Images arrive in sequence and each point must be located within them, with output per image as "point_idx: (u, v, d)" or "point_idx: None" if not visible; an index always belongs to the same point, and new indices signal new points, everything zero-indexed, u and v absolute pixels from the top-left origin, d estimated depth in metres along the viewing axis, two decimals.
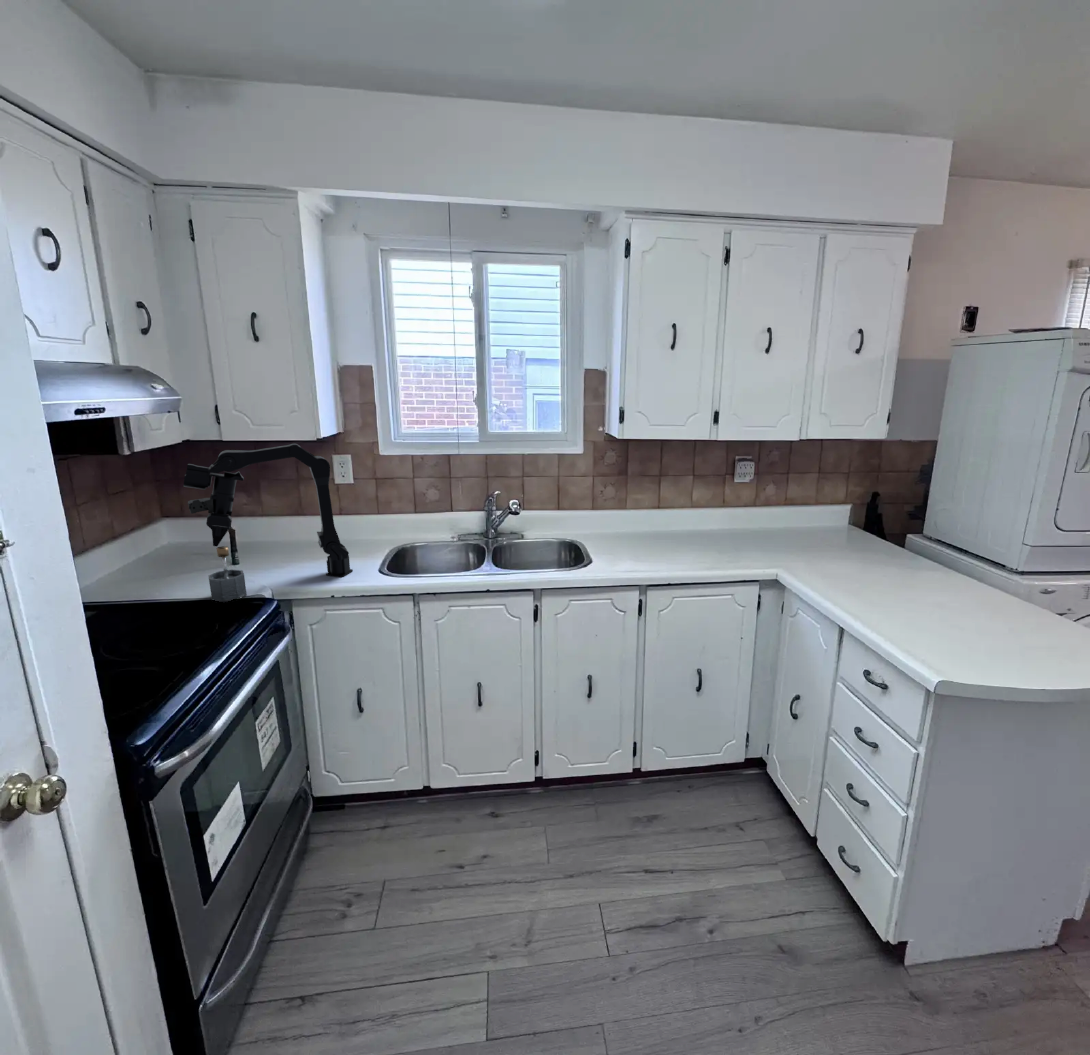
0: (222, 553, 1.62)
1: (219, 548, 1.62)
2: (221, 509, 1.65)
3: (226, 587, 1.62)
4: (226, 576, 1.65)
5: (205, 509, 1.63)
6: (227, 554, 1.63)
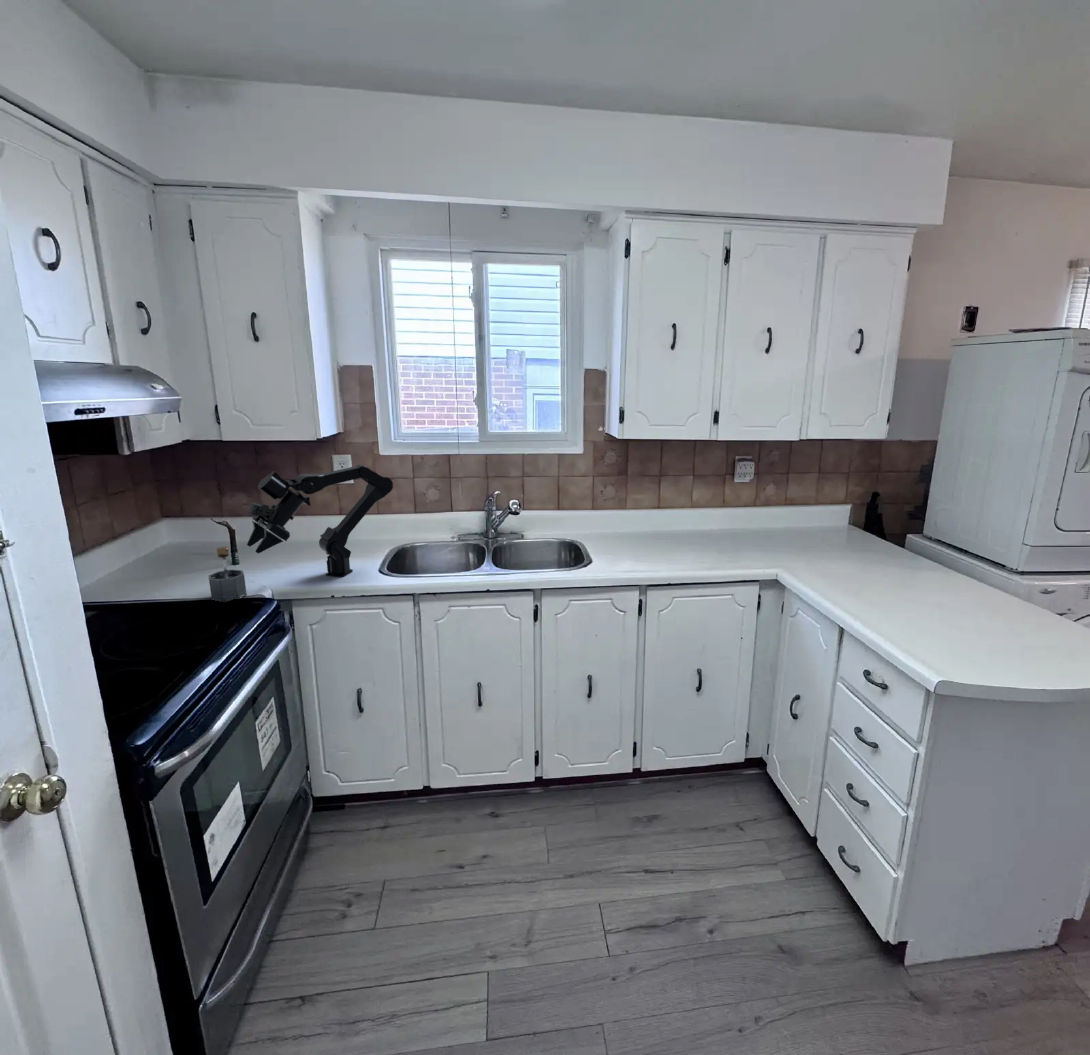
0: (223, 554, 1.62)
1: (219, 548, 1.62)
2: (279, 522, 1.69)
3: (226, 587, 1.62)
4: (226, 576, 1.65)
5: (266, 516, 1.67)
6: (227, 554, 1.63)
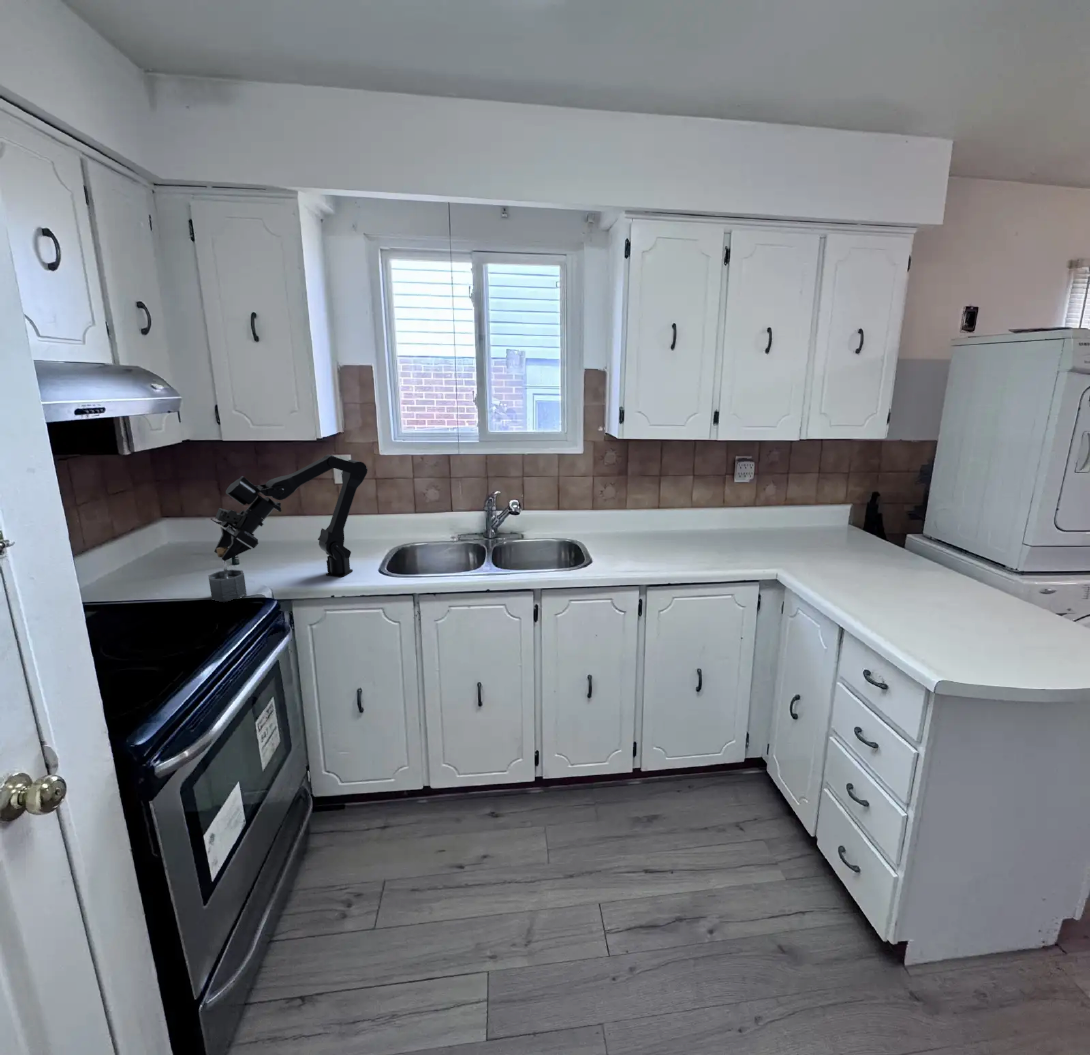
0: (223, 554, 1.62)
1: (219, 548, 1.62)
2: (248, 528, 1.64)
3: (226, 587, 1.62)
4: (226, 576, 1.65)
5: (233, 522, 1.61)
6: None
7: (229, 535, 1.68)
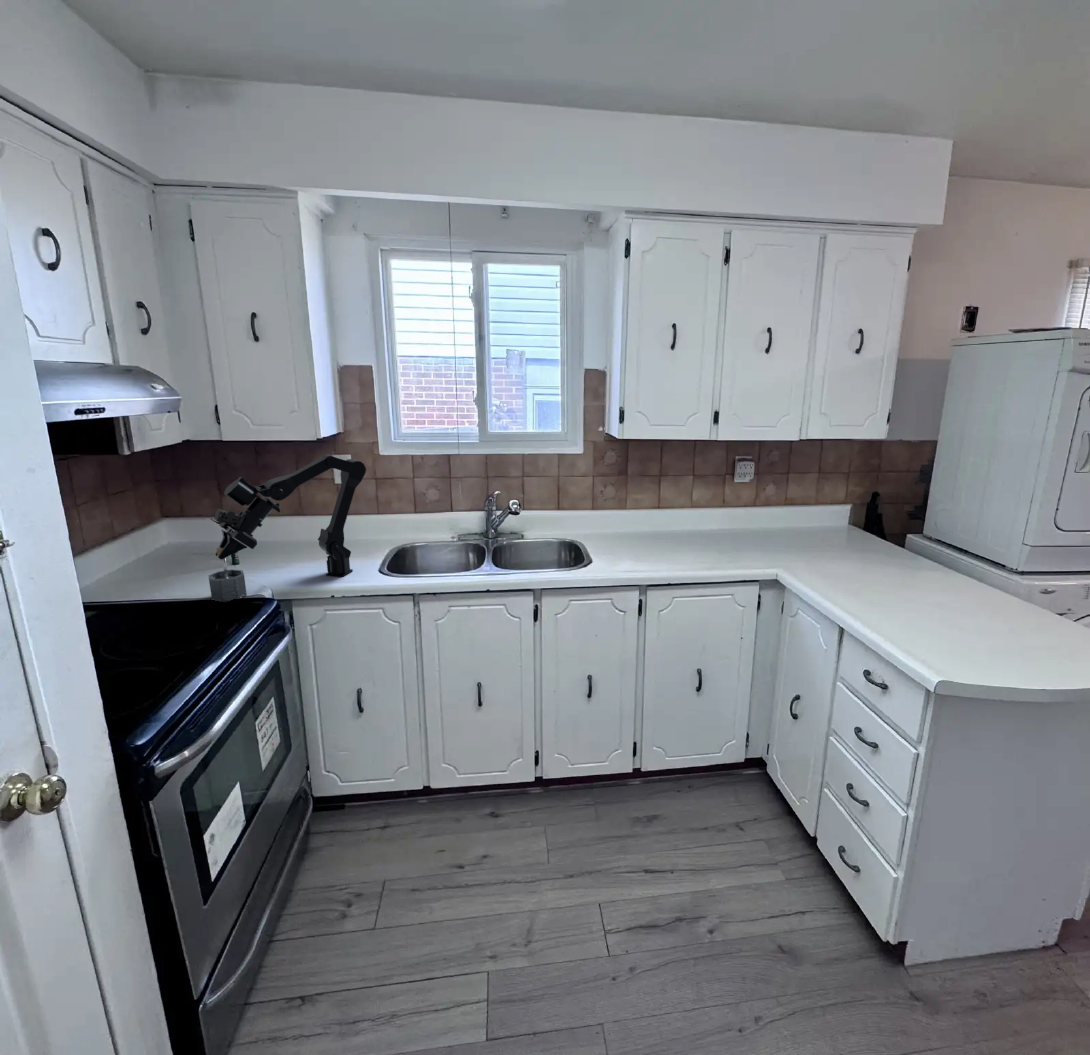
0: None
1: (219, 548, 1.62)
2: (246, 529, 1.64)
3: (226, 587, 1.62)
4: (226, 576, 1.65)
5: (232, 523, 1.61)
6: None
7: None
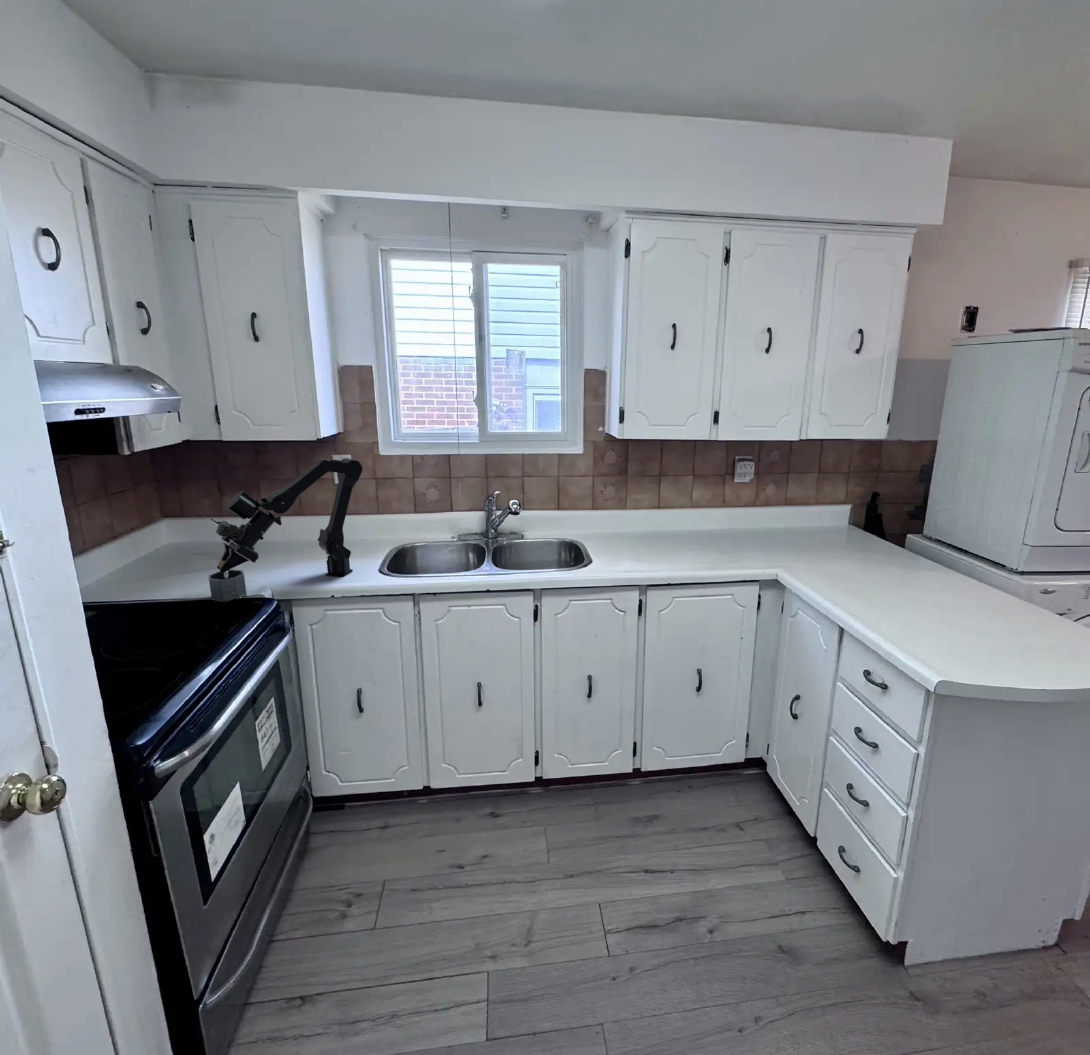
0: None
1: (221, 561, 1.63)
2: (248, 542, 1.65)
3: (226, 587, 1.62)
4: None
5: (234, 536, 1.62)
6: None
7: None
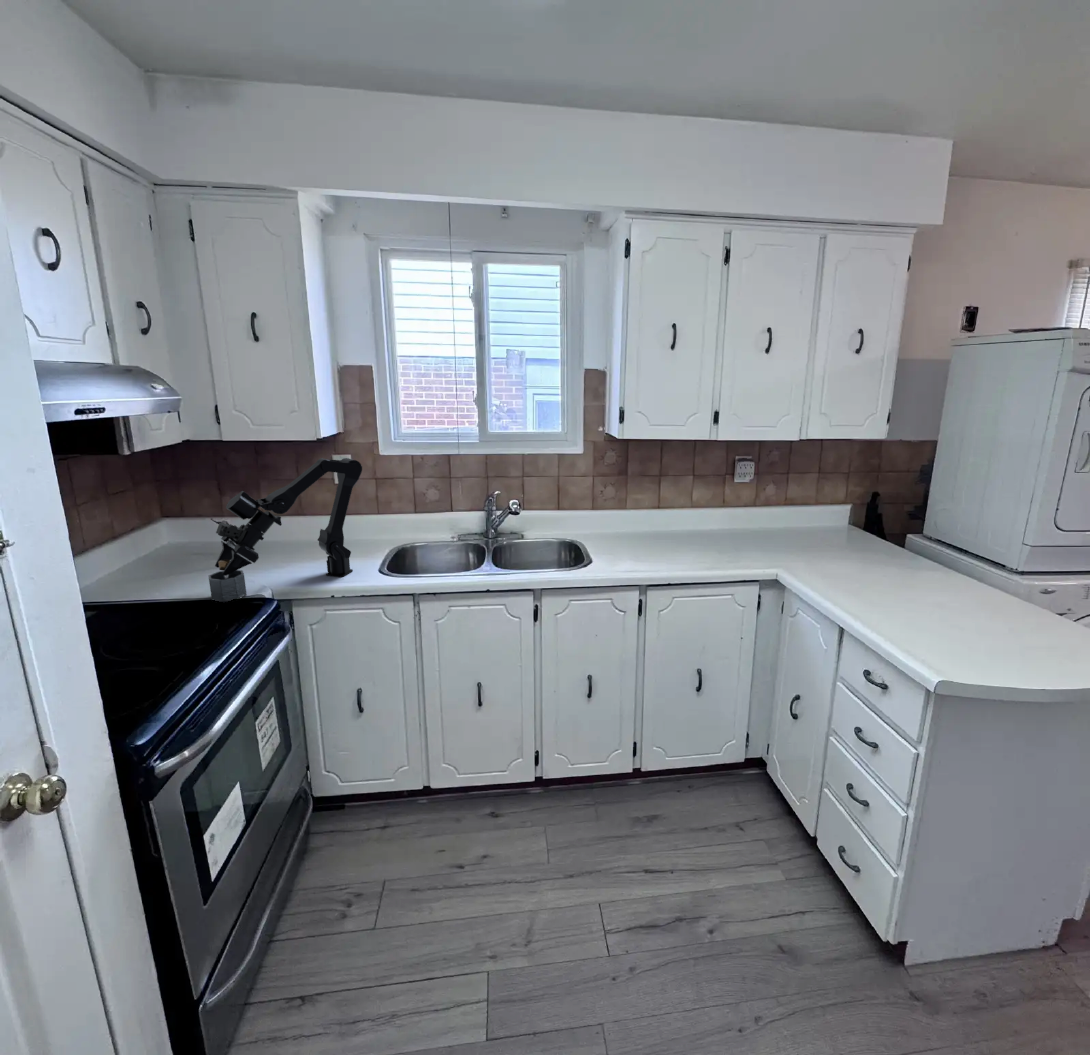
0: (224, 567, 1.63)
1: (221, 561, 1.63)
2: (248, 543, 1.65)
3: (226, 587, 1.62)
4: None
5: (234, 537, 1.62)
6: None
7: (230, 549, 1.69)
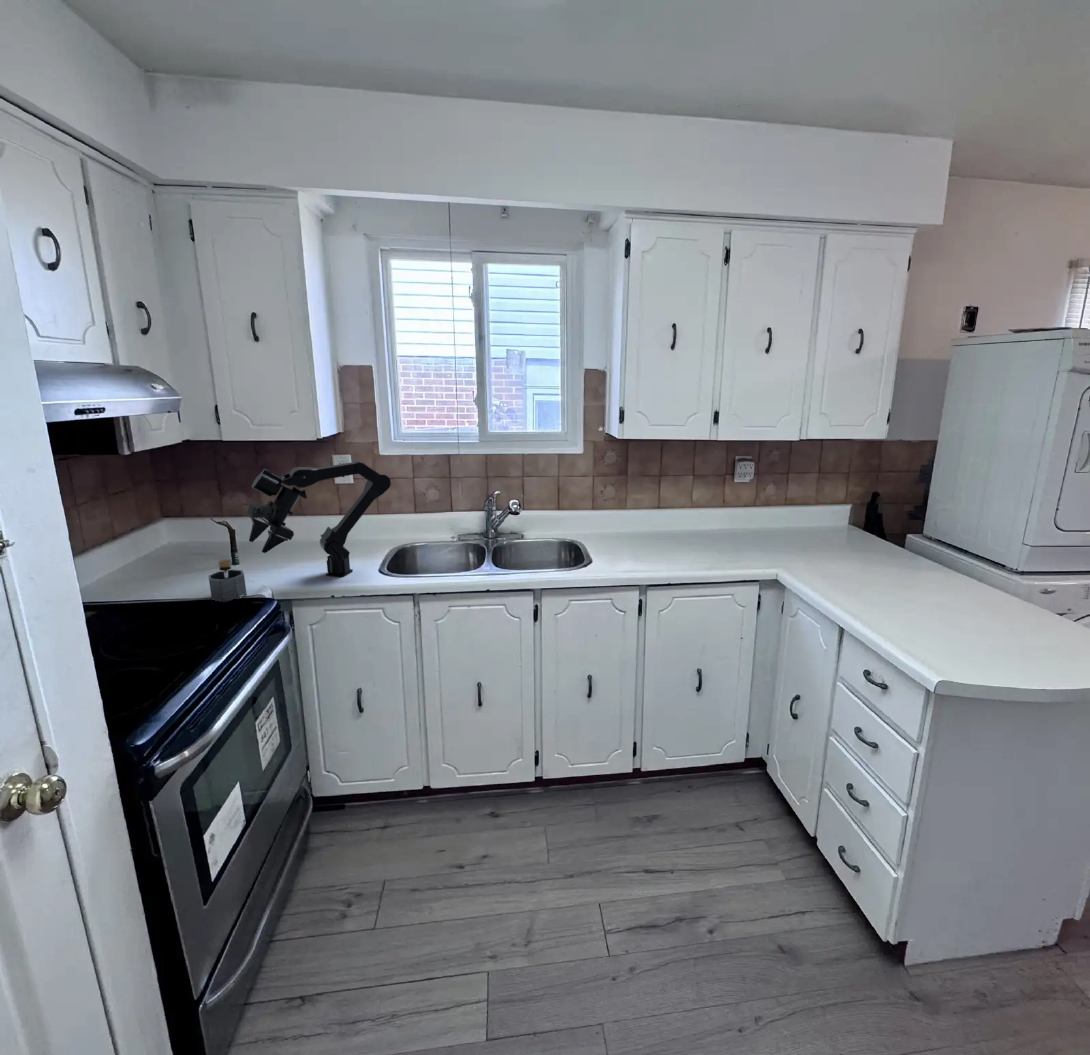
0: (224, 567, 1.63)
1: (221, 561, 1.63)
2: (280, 519, 1.72)
3: (226, 587, 1.62)
4: None
5: (266, 516, 1.69)
6: (229, 567, 1.64)
7: (260, 523, 1.76)
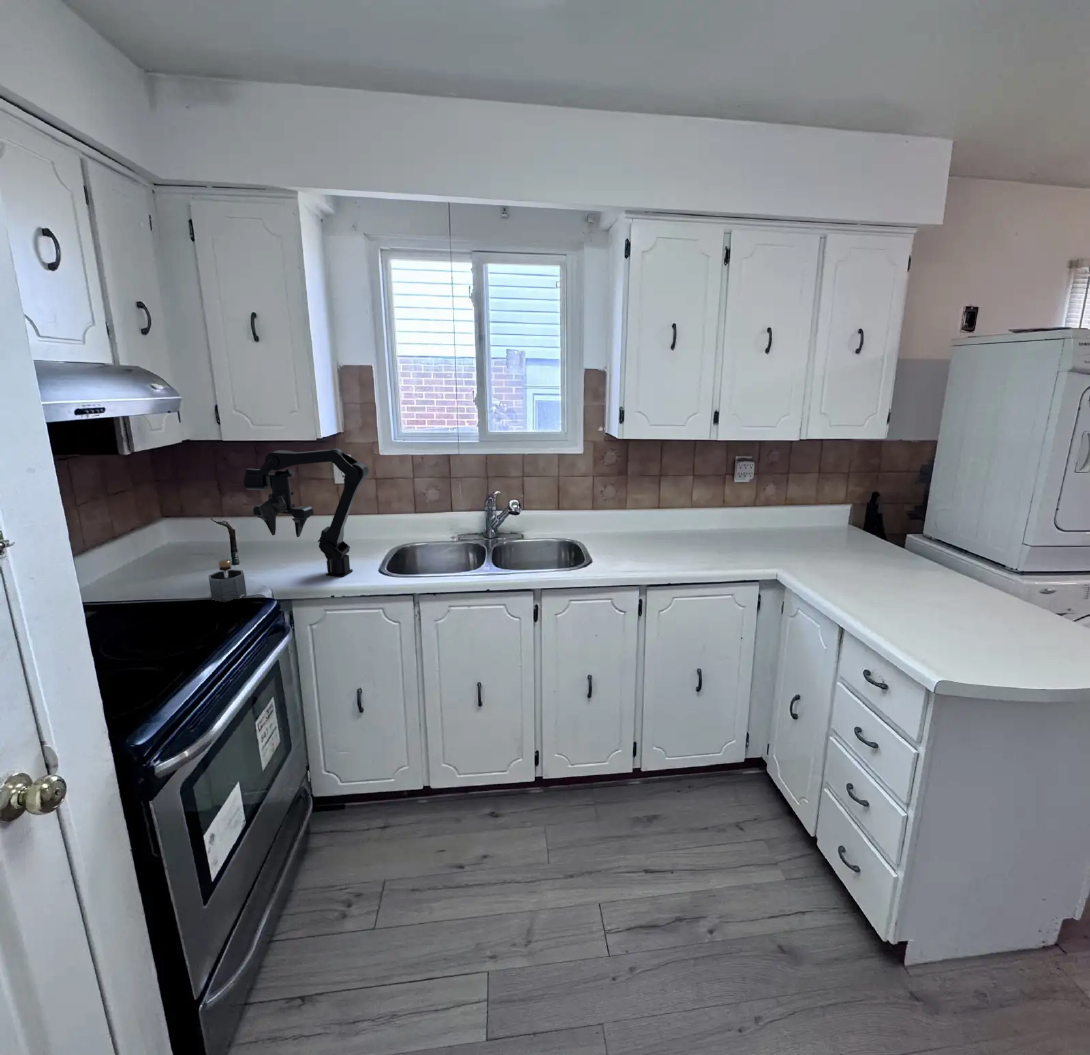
0: (224, 567, 1.63)
1: (221, 561, 1.63)
2: (290, 504, 1.81)
3: (226, 587, 1.62)
4: None
5: None
6: (229, 567, 1.64)
7: (270, 516, 1.84)
